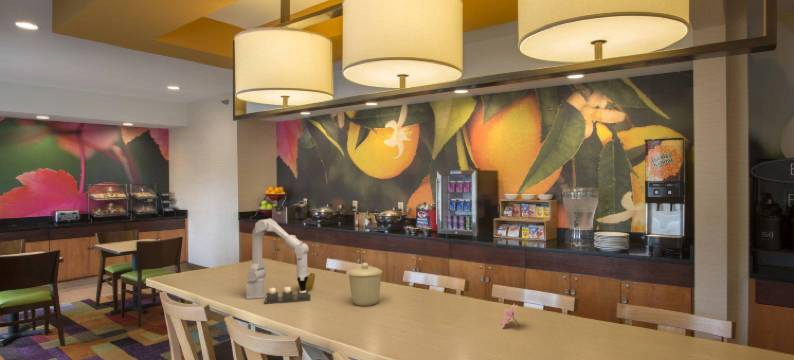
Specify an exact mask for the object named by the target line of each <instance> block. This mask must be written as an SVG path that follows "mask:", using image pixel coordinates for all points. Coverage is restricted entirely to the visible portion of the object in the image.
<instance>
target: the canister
mask: <svg viewBox="0 0 794 360" xmlns="http://www.w3.org/2000/svg"><path fill="white" fill-rule="evenodd" d="M382 274H383V270H382V269H380V268H378V267H376V266H369V263H368V262H362V263H361V266H357V267H355V268H352V269H350V270H348V271H347V275H348V279H349V288H350V293H351V299H352V302H353V304H354V305H357V306H360V307H362V306H363V307H367V306H373V305H375V304H377V303H378V302H379V300H380V292H381V284H382V281H381V280H382Z"/></svg>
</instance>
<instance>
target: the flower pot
mask: <svg viewBox="0 0 794 360" xmlns="http://www.w3.org/2000/svg"><path fill="white" fill-rule="evenodd" d="M309 273H310V275H308V276H306V277H308V280H307V282H306V287H305V290H308V292H309V291H312V289H313V287H314V285H315V279H316V273H315V272H309ZM297 278H299V277H297V276H296V279H297ZM297 284H298V288H300V285H299V282H298V281H297Z"/></svg>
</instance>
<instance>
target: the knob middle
mask: <svg viewBox="0 0 794 360" xmlns="http://www.w3.org/2000/svg"><path fill="white" fill-rule="evenodd" d="M291 291H292V286H291V285H290V286H283V292H284V294H290V293H291Z"/></svg>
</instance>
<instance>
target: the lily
mask: <svg viewBox="0 0 794 360" xmlns="http://www.w3.org/2000/svg"><path fill="white" fill-rule="evenodd" d="M510 307H511V308H510V309H509V308H506V309H505V310H504V311H503V317H504V318H503V320H502V321H501V322H500V324H502V325H501V329H503V328H504V326H505V324H506V323H507V322H509V321H513V320H514V321H515V322H516V324H517V325H518V326H519V327H520V326H521V325H520V324H519V322H518V320H517V319H516V318H515V313H514V311H515V310H516V308H517V307H518V304H515V302H514V303H513V304H512V306H510Z"/></svg>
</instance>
